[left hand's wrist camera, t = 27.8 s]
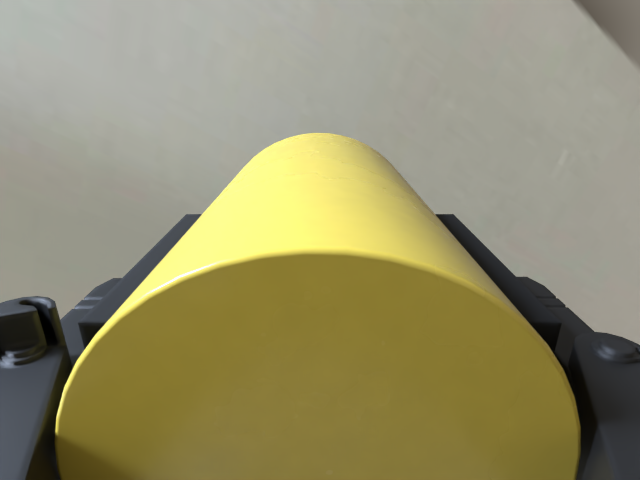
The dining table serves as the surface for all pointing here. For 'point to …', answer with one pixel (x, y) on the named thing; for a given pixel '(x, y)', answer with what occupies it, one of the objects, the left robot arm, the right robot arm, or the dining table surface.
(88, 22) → the dining table surface
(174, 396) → the canister
